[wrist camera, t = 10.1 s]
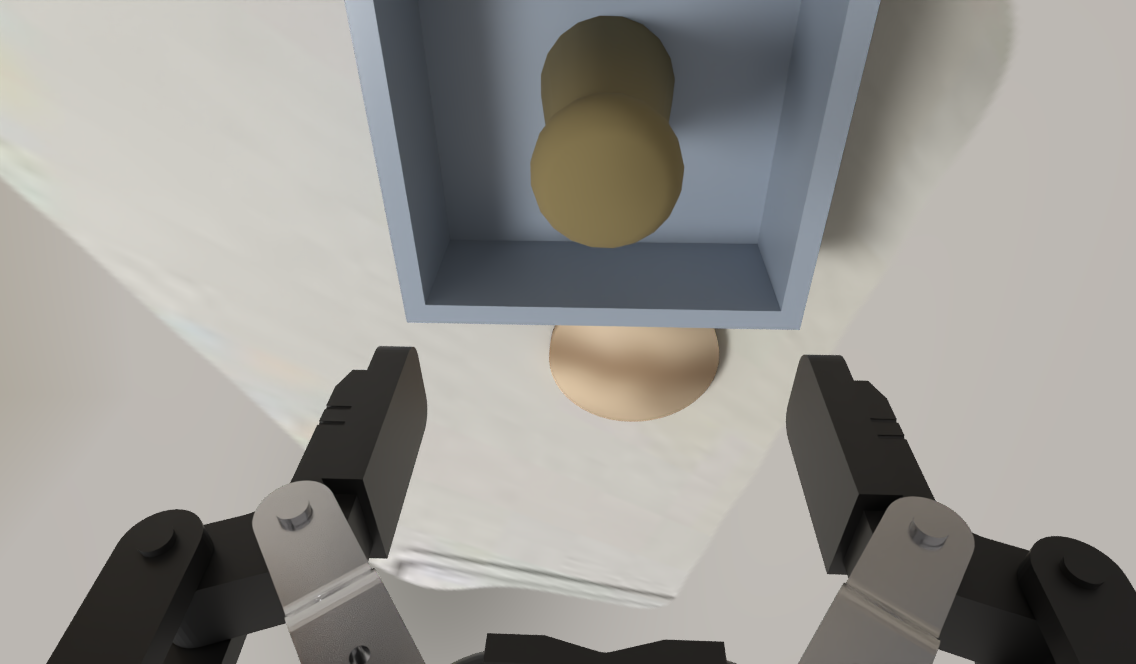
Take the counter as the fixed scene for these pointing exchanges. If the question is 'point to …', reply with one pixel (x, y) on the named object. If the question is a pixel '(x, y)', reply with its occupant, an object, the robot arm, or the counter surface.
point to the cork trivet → (633, 368)
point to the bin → (698, 118)
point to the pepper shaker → (607, 134)
